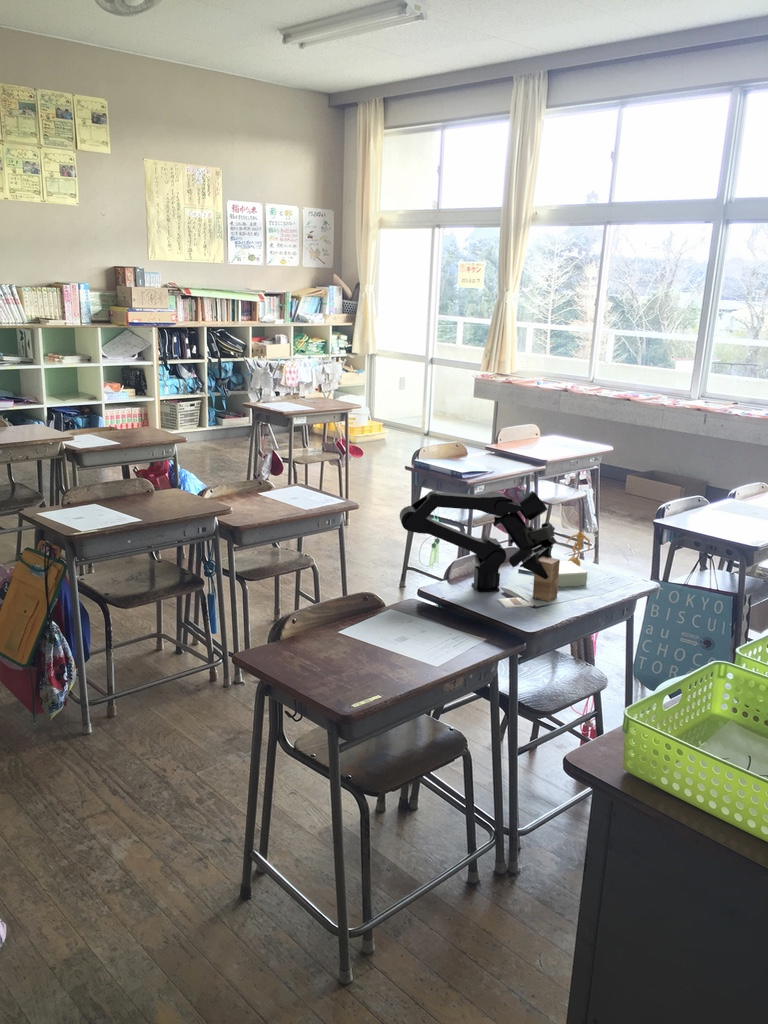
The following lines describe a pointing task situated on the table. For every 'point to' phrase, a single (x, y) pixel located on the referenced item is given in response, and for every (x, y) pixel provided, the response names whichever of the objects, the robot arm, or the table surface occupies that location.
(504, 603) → the card
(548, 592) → the walnut block
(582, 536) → the figurine
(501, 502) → the robot arm
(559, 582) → the base block
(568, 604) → the table surface
